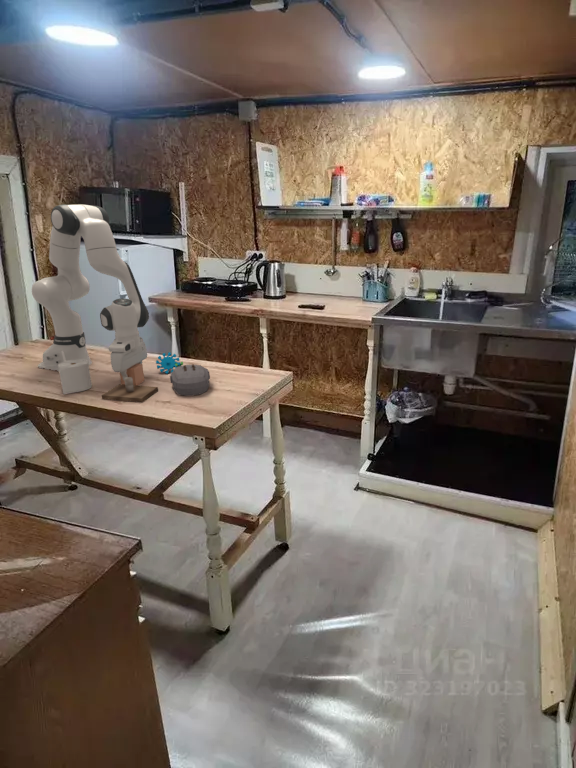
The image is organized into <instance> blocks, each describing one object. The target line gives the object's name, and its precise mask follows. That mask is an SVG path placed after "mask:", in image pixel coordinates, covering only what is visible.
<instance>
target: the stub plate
mask: <svg viewBox="0 0 576 768" xmlns="http://www.w3.org/2000/svg"><path fill="white" fill-rule="evenodd" d="M124 379H125V384H121V383H119V384H118V385H116V386H115V387H114V386H113V388H111V389H109V390H107V391H105V393H103V394H101V400H107V399H109V400H110V401H121V402H133V403H143V402H144V401H146V400H147V399H149V398H150V397H152V396H153V395H154V394H156V393H157V392H158V391H159V387H158V386H148V385H133V378H132V377H126V378H124ZM109 400H108V401H109Z"/></svg>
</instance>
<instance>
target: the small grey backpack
mask: <svg viewBox="0 0 576 768" xmlns="http://www.w3.org/2000/svg"><path fill="white" fill-rule="evenodd" d="M173 370H174V371H173V372H172V373H171V372H170V375H169V380H170V383H171V384H172V388H173V391H175V393H176V394H177V395H180V396H197V395H202V394H204V393H205V392H208V389H209V387H210V379H211V375H210V371H209V370H208V368H206V367H204V366H202V365H201V364H200V365H199V364H183V365H181V366H179V367H176V369H173Z"/></svg>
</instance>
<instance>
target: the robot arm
mask: <svg viewBox="0 0 576 768" xmlns="http://www.w3.org/2000/svg"><path fill="white" fill-rule="evenodd" d="M50 223H51V225H52V227H51V232H50V238H49V250H48V251H49V254H48V259H49V262H50V263H51V264H52V265H53V266H54V267H56V268H57V275H55V276H49V277H43V278H41V279H39V280H37V281H35V282H34V283H33V284H32V287H31V295H32V297H33V299H34V300H35V302H36V303H38V304H40V305H42V306H43V307H44V308H45V309H46V310H47V311H48V313H49V315H50V317H51V320H52V324H53V329H54V335H53V336H50V341H52V340H53V341H52V344H51V345H50V346H49V347H47V349H46V350H44V352H43V354H42V361H41V362H39V363H38V365H37V368H38V367H39V368H38V369H43V368H45V369H44V370H49V369H51V370H50V371H55V370H57V371H56V372H59V368H58V364H59V363H61V362H64V361H68V360H75V359H83V360H87V361H88V364H89V366H90V365H92V363H93V362H92V359H91V357H90V355H89V352H88V349H87V345H86V342H87V341H86V334H85V332H84V329H83V324H82V319H81V318H82V316H81V315H80V314H79V313H78V312H77V311H75V310H73V309H72V308H71V305H70V303H69V302H70V301H71V302H72V301H76V300H80V299H81V298H83V297H85V296H87V295H88V294H89V292H90V287H91V286H90V283H89V280H88V279H87V277H86V276H84V274H83V273H82V271H81V268H80V251H81V238H82V239H83V241H84V242H83V243H84V247H85V252H86V257H87V261H88V263H89V265H90V267H91V268H92V269H94V271H96V272H98V273H99V274H103V275H107V276H111V277H113V278H115V279H118V280H119V281H120V282H121V284H122V285H123V288H124V290H125V293H126V295H127V298H123V297H122V298H116V299H114V300H113V301H112V302H111V305H108V306H105V307H103V308H102V309H101V311H100V314H99V317H100V323H101V326H102V328H104V329H105V330H107V331H112V332H113V331H114V337H115V338H114V340H113V341H112V342H111V344H110V345H109V346H108V351H109V352H110V356H109V357H110V364H111V368H112V371H113V372H114V373H119V374H120V373H121V375H122V376H123V380H124V381H125V379H124V378H126V377H129V375H127V373H126V372H127V369H128V368H130V367H132V366H134V365H135V364H143V361H145V360H146V359H147V358H148V351H147V346H146V343H145V341H144V339H143V337H141V336H140V332H139V329H138V328H143V327H145V326H146V324H147V323H148V322H149V320H150V314H149V313H150V312H149V310H148V307H147V305H146V304H145V302H144V299H143V298H142V295H141V292H140V290H139V287H138V284H137V282H136V278H135V276H134V274H133V271H132V270H131V267H130V265H129V264H128V263H127V261H124V260H123V259H122V258H121V256H120V255H119V252H118V249H117V245H116V241H115V237H114V234H113V232H112V229H111V226H110V216H109V214H108V212H107V210H106V209H105V208H103V207H101V206H98V205H89V204H81V203H78V204H59V205H55V206H53V208H52V210H51V212H50Z"/></svg>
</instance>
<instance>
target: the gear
mask: <svg viewBox="0 0 576 768" xmlns="http://www.w3.org/2000/svg"><path fill="white" fill-rule="evenodd" d="M162 357H163V358H162ZM157 358H158V360H156V361H155V364H156V369H157V370H159V372H160V373H165V374H166V375H168V374H169V372H170V373H172V372H173V371H174V370H175V369H176V367H179V366H183V365H184V362H183V361H180V357H179V356H178V357H177V354H176V353H173V354H172V352H168V353H167V356H166V352H163V353H162V356H161V355H159V356H157ZM174 368H175V369H174Z"/></svg>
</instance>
